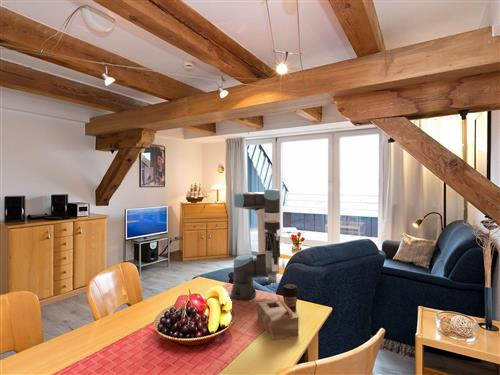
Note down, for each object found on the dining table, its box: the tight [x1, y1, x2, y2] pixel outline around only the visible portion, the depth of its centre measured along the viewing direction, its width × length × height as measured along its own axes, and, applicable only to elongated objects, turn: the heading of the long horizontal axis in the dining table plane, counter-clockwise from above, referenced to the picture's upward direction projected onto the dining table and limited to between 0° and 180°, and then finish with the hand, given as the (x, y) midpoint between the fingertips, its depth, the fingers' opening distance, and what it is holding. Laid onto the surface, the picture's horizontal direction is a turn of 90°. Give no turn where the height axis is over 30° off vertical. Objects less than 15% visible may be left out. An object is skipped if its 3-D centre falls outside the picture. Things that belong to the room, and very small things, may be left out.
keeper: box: [276, 295, 293, 316], centre depth 125 cm, size 5×9×1 cm
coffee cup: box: [281, 283, 299, 313], centre depth 146 cm, size 9×8×13 cm
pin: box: [266, 250, 280, 285], centre depth 134 cm, size 6×6×15 cm
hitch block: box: [257, 299, 300, 341], centre depth 130 cm, size 20×12×8 cm, turn 17°
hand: (272, 268), depth 134 cm, fingers closed on pin, 6 cm apart
